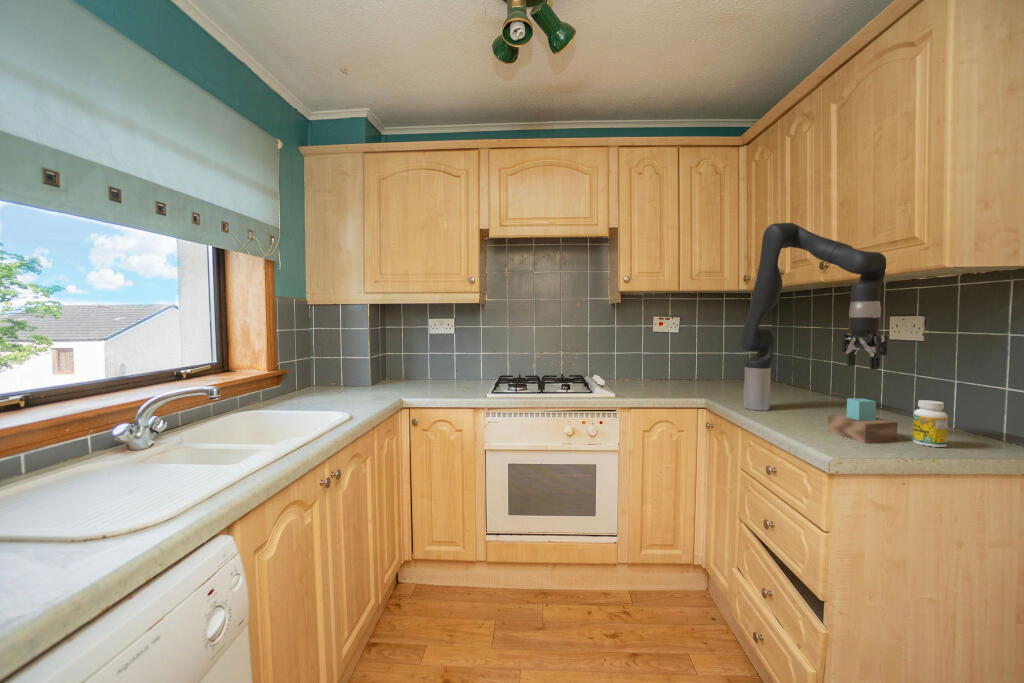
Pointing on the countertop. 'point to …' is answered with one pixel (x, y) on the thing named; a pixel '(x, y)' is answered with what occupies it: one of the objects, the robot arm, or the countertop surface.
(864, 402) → the teal block
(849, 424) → the walnut box
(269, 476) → the countertop surface
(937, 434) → the supplement bottle
